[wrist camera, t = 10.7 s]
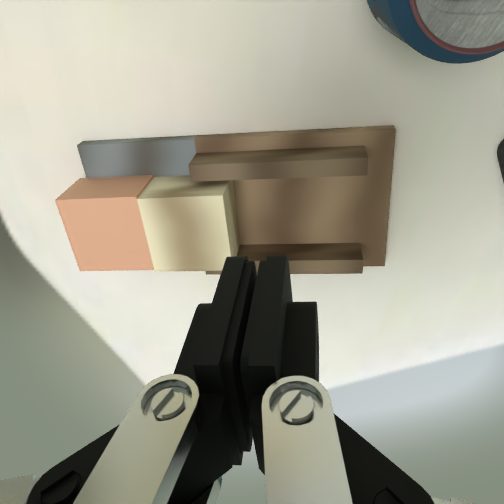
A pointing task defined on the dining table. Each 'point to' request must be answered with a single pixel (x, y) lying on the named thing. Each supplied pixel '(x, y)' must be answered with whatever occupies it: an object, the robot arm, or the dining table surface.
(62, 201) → the terracotta block
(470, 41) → the soda can
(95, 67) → the dining table surface
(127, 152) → the chute
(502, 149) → the phone
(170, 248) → the beech block
